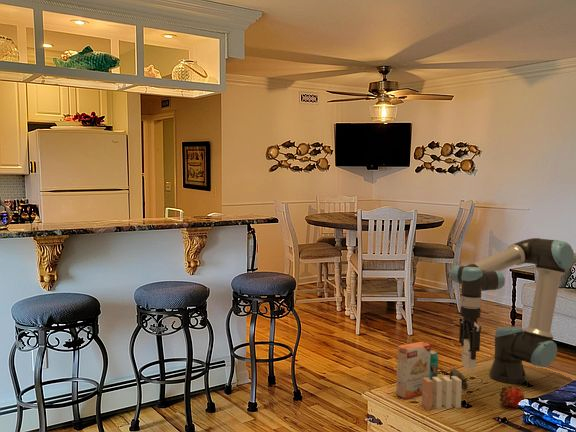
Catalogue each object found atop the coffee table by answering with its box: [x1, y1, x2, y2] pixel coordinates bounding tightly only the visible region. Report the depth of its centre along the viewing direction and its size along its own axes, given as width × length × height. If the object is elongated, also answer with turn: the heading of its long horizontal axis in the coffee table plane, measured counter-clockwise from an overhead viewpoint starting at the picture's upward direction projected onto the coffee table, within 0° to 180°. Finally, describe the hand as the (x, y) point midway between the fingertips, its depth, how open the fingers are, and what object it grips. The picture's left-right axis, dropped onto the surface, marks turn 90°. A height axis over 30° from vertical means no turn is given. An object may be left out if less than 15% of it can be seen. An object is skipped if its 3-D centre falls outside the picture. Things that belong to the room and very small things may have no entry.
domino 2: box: [432, 377, 443, 410], centre depth 215 cm, size 2×5×11 cm, turn 9°
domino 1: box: [421, 377, 433, 411], centre depth 214 cm, size 2×5×11 cm, turn 8°
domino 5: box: [462, 339, 475, 371], centre depth 216 cm, size 2×5×11 cm, turn 8°
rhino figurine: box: [449, 368, 469, 389], centre depth 238 cm, size 4×14×6 cm, turn 11°
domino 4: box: [451, 376, 463, 409], centre depth 216 cm, size 2×5×11 cm, turn 8°
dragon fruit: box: [499, 386, 525, 409], centre depth 216 cm, size 8×8×12 cm
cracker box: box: [395, 341, 432, 400], centre depth 227 cm, size 14×6×21 cm, turn 123°
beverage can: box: [430, 349, 439, 381], centre depth 237 cm, size 6×6×15 cm
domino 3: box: [441, 375, 452, 409], centre depth 216 cm, size 2×5×11 cm, turn 9°
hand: (468, 364), depth 216 cm, fingers closed on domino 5, 5 cm apart
